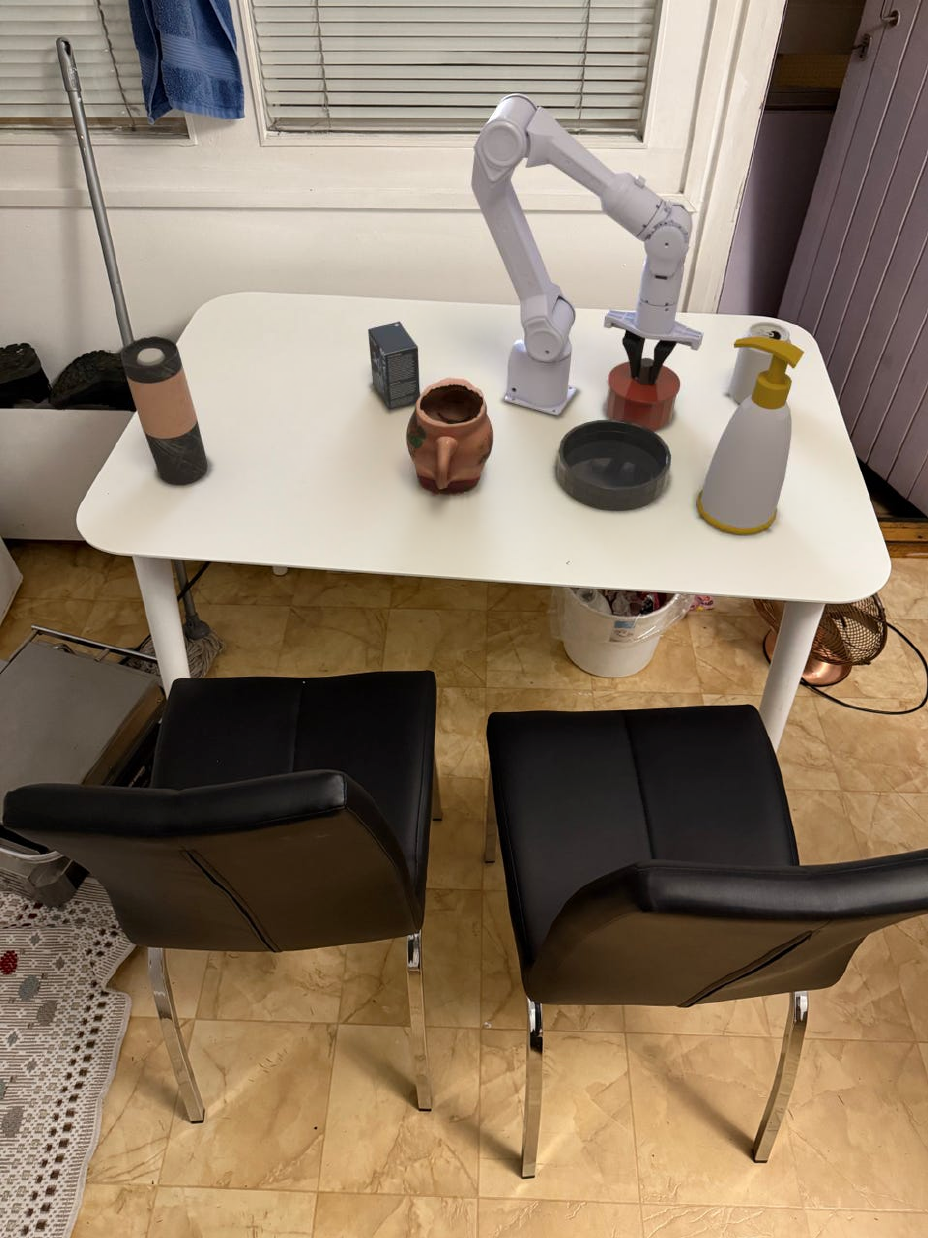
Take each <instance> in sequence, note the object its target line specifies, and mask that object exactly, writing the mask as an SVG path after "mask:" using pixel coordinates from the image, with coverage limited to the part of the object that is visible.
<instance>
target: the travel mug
mask: <svg viewBox="0 0 928 1238" xmlns="http://www.w3.org/2000/svg"><path fill="white" fill-rule="evenodd" d="M120 360H121V364H122V367H123V370H124V373H125V376H126V380H127V382H128V387H129V389H130V392H131V396H132V399H133V402H134V405H135V406H134V407H135V409H136V412H137V415H138V418H139V421H140V425H141V429H142V431H143V434H144V437H145V439H146V442H147V445H148V447H149V450H150V453H151V456H152V458H153V462H154V464H155V467H156V469H157V472H158V475H159V477H160V479H161V480H162V481H163V482H165V483H167V484H169V485H172V486H184V485H186V486H187V485H190V484H192V483H195V482H197V481H199V480H200V479H202V478H203V477H204V476H205V475H206V473H207V472H208V460H207V456H206V450H205V447H204V442H203V438H202V434H201V430H200V424H199V421H198V420H199V419H198V415H197V413H196V408H195V404H194V401H193V398H192V394H191V391H190V387H189V384H188V380H187V376H186V373H185V368H184V365H183V362H182V361H183V360H182V358H181V355H180V351H179V348H178V345H177V344H176V343H175V342H174V341H172V340H171V339H169V338H165V337H159V336H153V337H144V338H140V339H137V340H134V341H133V342H131V343H129V344H127V345H126V346H125V347H124V348H123V349H122V350H121V353H120Z"/></svg>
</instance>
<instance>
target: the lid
mask: <svg viewBox="0 0 928 1238" xmlns="http://www.w3.org/2000/svg"><path fill="white" fill-rule="evenodd" d="M653 360H654V359H652V358H650V357H642V359H640V361H639V365H638V372H637V377H636V378H635V379H633V378H631V369H630V363H629V361H625V362H621V363H619V364H616V365H615V366H614V367H613V368H611V370H610V371H609V372H608V374H607V375H608V376H607V379H606V381H607V382H606V384H607V387H608V388H610V390H611V391H612V392H613V393H614V394H615V395H617V396H618V397H620V398H622V399H624V400H626V401H629V402H632V403H637V404H645V405H651V404H660V403H664V402H666V401H669V400H671V399H672V398H674V397H675V396H676V397H677V395H678V394H679V392H680V389H681V379H680V378H679V376H678V374H677V373H676V372H675V371H674V370H673V369H671V368H669V367H668V366H666V365H664V364H663V366H662V368H661V370H660V373H659V376H658V378H657V380H656V382H655V383H654V384H651V383H650V376H651V372H652V368H653Z"/></svg>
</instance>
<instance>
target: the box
mask: <svg viewBox="0 0 928 1238" xmlns="http://www.w3.org/2000/svg"><path fill="white" fill-rule="evenodd" d="M367 333H368V347H369V355H370V363H371V364H370V365H371V376H372V377H371V378H372V385H373V387H374V388H375V390H376V391H377V393H378V395H379V396H380V398H381V400H382V402H383V403H384V404H385V406H386V409H387V410H388V411H393V410H398V409H402V408H405V407H410V406H413V405H414V406H415V405H416V402H417V400H418V398H419V397H420V396H421V389H420V388H421V387H420V365H419V363H420V362H419V346H418V345H417V343H416V342H415V341H414V339H413V338H412V337H411V336H410V334H409V332H407V330H406V328H405V327H404V325H403V323H402V322H401V321H396V322H392V323H388V324H382V325H378V326H375V327H371V328H368V329H367Z"/></svg>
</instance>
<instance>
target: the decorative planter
mask: <svg viewBox="0 0 928 1238" xmlns="http://www.w3.org/2000/svg"><path fill="white" fill-rule="evenodd" d="M405 441H406V448H407V452H408V455H409V456H410V459H411V461H412V463H413V465H414V470H415V475H416V478H417V481H418V483H419V485H420V486H421V488H423V490H425V491H427V492H430V493H432V494H437V495H443V496H448V495H449V496H451V495H461V494H464V493H465V494H466V493H468V492H470V491H472V490H473V489H474V488H476V486H477V485H478V483H479V482H480V479H481V478H482V477H481V476H482V472H483V470H484V468H485V466H486V463H487V462H488V460H489V458H490V456H491V454H492V450H493V445H494V430H493V423H492V421H491V419H490V417H489V415H488V405H487V402H486V399H485V397H484V393H483V391H482V389H480V388H478V387H476V386H474V385H473V384H472V383H471V382H470V381H468V380H467V379H464V378H457V377H456V378H455V377H447V378H443V379H441V380H439V381H437V382H435V383H432V384H429V385H427V386H426V387H425V389H424V390H423V392H421V393H420V397H419V398H418V400H417V402H416V404H414V409H413V411H412V414H411V416H410V418H409V421H408V422H407V427H406V433H405Z"/></svg>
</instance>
